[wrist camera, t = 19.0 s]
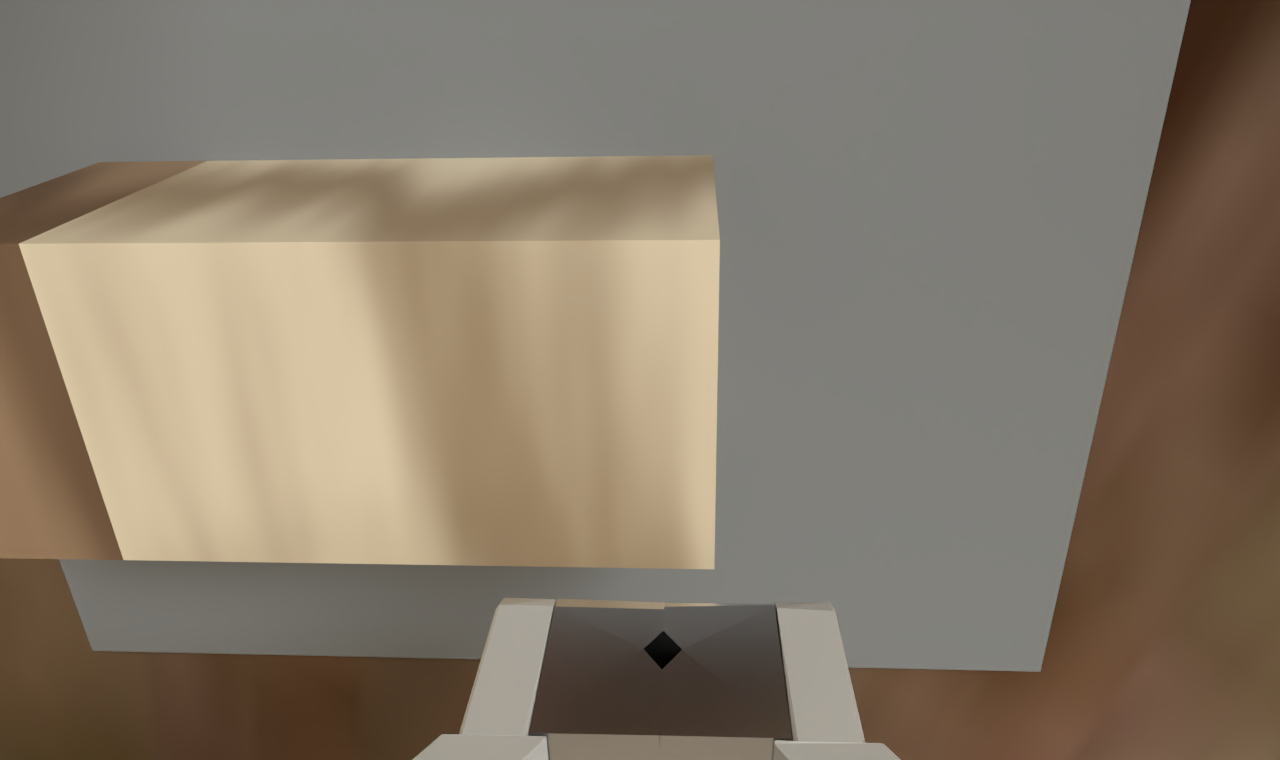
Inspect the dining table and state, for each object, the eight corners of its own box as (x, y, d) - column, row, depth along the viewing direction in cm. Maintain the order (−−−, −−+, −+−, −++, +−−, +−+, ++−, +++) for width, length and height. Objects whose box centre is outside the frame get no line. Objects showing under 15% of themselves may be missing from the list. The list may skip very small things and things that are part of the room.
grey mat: (1240, -318, 13) (1264, -329, 12) (1031, 652, 21) (1040, 671, 20) (-211, -259, 14) (-246, -267, 14) (107, 633, 22) (92, 650, 21)
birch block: (720, 240, 11) (-129, 244, 12) (714, 569, 13) (-3, 558, 14) (712, 155, 16) (100, 162, 16) (709, 411, 18) (168, 408, 18)
